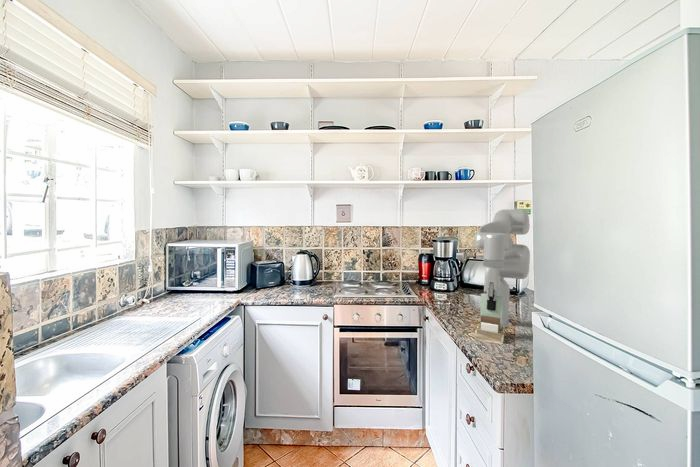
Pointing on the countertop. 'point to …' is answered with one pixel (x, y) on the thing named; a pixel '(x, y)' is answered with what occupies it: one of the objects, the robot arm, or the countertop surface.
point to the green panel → (491, 313)
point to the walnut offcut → (490, 320)
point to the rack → (489, 335)
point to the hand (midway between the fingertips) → (491, 309)
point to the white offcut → (489, 327)
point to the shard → (472, 323)
